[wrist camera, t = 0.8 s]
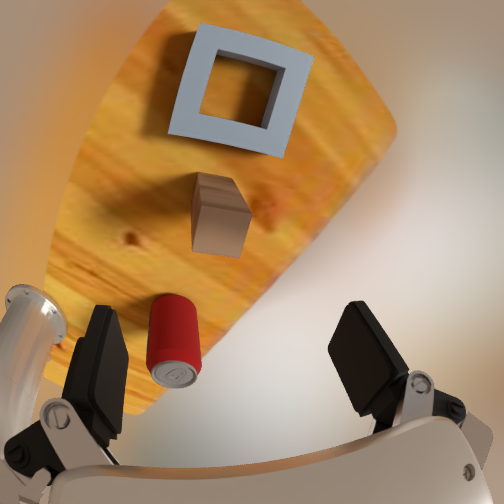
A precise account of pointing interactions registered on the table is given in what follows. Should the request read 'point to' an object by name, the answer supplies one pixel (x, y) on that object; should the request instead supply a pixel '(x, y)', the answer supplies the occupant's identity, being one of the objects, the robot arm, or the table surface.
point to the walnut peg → (218, 216)
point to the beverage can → (173, 342)
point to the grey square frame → (279, 103)
